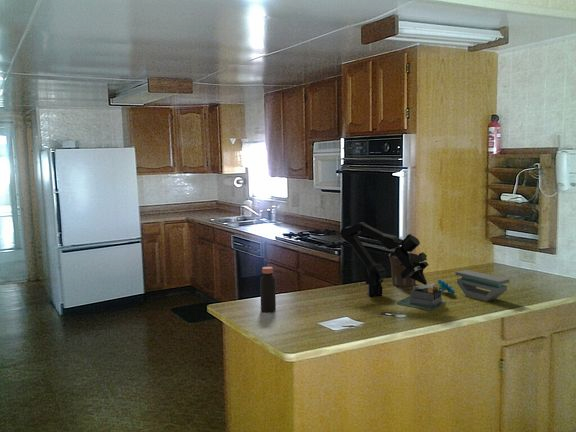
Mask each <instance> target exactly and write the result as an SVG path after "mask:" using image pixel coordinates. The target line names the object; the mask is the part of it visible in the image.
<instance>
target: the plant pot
mask: <svg viewBox="0 0 576 432" xmlns="http://www.w3.org/2000/svg"><path fill="white" fill-rule="evenodd" d="M408 253H409V254H410V255H411V256H412V255H413V256H414V257H417V256H419V253H414V252H408ZM390 254H391V253H389V254H388V256H389V262H390V268H391V283H392V285H393V286H394V287H395V286H396V287H401V288H404V287H406V288H409V287H411V288H413V287H414V286H416V282H417V281H416V280H414V279H412V278H409V277H410V276H411V275H410V274H408V275H407V276H406V278H405V279H402V278H401V276H400V273H401V272H402V271H404V270H405V269H406V268H405V267H404V266H401V265H400V264H401V262H400V261H399V260H398V259H397V257H396V256H393V257H390Z"/></svg>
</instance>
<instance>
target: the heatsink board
mask: <svg viewBox="0 0 576 432" xmlns="http://www.w3.org/2000/svg"><path fill="white" fill-rule="evenodd" d="M420 285H422V283H420V284H419V283H418V284H417V285H414V286H412V290H410V295H409V296H407V297H405V298H402V299H400V300H398V301H396V304H397V305H401V306H405V307H412V308H416V309H417V308H418V309H422V310H427V311H434V310H437V309H439V308H440V307H442V306H444V305H445V304H446V301H442V300H443V299H442V298H443V296H442V294H441V289H440V290H438V289H439V288H438V287H439V286H434V287H430V288H423V289H416V286H420Z"/></svg>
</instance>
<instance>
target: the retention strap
mask: <svg viewBox="0 0 576 432" xmlns="http://www.w3.org/2000/svg"><path fill="white" fill-rule="evenodd" d="M436 285H437V284H436V283H427V284H426V285H424V284H421V285H420V286H418V285H415V286H416V289H423V288H433V287H434V286H436Z"/></svg>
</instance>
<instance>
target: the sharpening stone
mask: <svg viewBox="0 0 576 432" xmlns="http://www.w3.org/2000/svg"><path fill="white" fill-rule="evenodd" d="M454 274H455V276H459V278H456V279H457V280H456V284H457V285H458V287H459V288H460V289H461V291H462V293H464V294H463V295H465V297H469V298H472V299H475V300H479V301H483V302H488V301H492V300H496V299H498V298H499V297H500V296H502V295H503V294H505V292H507V291H508V285H505V284H508V283H510V278H505V277H500V276H496V275H492V274H487V273H482V272H477V271H473V270H468V269H464V270H459V271H455V273H454Z"/></svg>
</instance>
